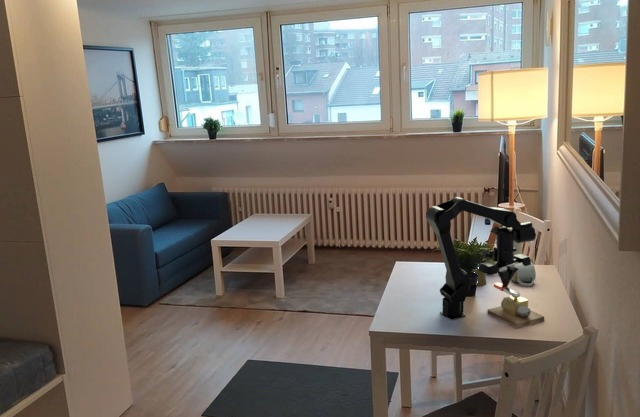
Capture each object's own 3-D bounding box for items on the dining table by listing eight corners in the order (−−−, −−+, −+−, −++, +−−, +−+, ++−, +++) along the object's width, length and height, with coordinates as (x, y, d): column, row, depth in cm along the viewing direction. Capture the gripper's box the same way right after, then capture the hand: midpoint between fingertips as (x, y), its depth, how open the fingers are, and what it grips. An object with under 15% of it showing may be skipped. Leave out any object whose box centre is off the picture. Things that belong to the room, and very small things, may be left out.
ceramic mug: (508, 278, 235) (509, 260, 233) (528, 277, 236) (529, 259, 234) (518, 288, 225) (518, 269, 223) (539, 286, 225) (540, 268, 223)
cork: (487, 286, 228) (487, 259, 225) (471, 286, 229) (471, 259, 226) (485, 281, 233) (486, 254, 231) (470, 280, 235) (470, 254, 232)
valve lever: (521, 297, 196) (521, 293, 195) (515, 298, 195) (515, 295, 195) (499, 285, 207) (499, 282, 207) (493, 286, 206) (493, 283, 206)
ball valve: (519, 319, 192) (520, 303, 191) (498, 309, 201) (499, 294, 200) (532, 316, 194) (533, 300, 193) (511, 306, 203) (511, 291, 202)
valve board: (516, 328, 190) (516, 323, 189) (487, 313, 202) (487, 309, 202) (544, 320, 194) (544, 316, 194) (514, 306, 207) (514, 302, 206)
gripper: (509, 235, 212) (509, 275, 216) (468, 244, 205) (469, 286, 209) (532, 241, 203) (531, 284, 206) (489, 252, 195) (490, 295, 199)
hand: (505, 287), depth 205 cm, fingers closed
